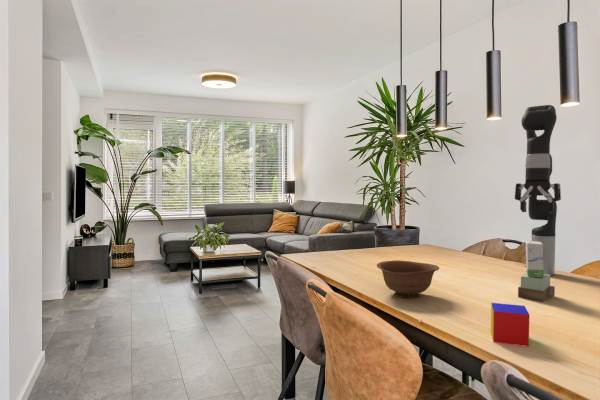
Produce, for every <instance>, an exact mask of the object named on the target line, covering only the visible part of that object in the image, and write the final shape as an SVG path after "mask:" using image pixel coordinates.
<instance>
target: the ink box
mask: <svg viewBox="0 0 600 400" xmlns="http://www.w3.org/2000/svg"><path fill="white" fill-rule="evenodd" d="M525 259H526V260H525V262H526V263H525V269H526V273H527V275H528V277H544V271H543V244H542V243H541V242H536V241H532V240H525Z"/></svg>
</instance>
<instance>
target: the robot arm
mask: <svg viewBox="0 0 600 400" xmlns="http://www.w3.org/2000/svg"><path fill="white" fill-rule="evenodd" d="M556 122H557V112H556V108H555V106H553V105H551V104H544V105H543V104H542V105H534V106H529V107H527V108H526V109H525V112H524V114H523V115H522V117H521V126H522V128H523V130H525V133H526V141H527V142H526V158H525V164H524V165H525V183H516V184H515V188H514V189H515V191H514V200H515V201H519V202H520V205H519V206H520V208H519V210H520V211H521V213H527V210H528V217H529V219H530V220H534V221H547V222H546V223H545V224H543V225H541V226H538V227H533V228H532V229H531V241H536V242H541V243H542V244H543V271H544V274H548V275H550V276H554V275H555V269H556V268H555V266H556V265H555V264H556V225H557V224H556V222H557V213H558V206H557V202H558V201H561V200H562V196H561V195H562V193H561V192H562V191H561V183H559V182H558V183H555V182H554V183H551V182H550V179H551V175H552V173H553V157H552V155H551V151H550V150H551V137H552V134H553V131H554V128H555V125H556ZM536 131H543V133H541V135H537V134H536ZM523 189H525V192H524V193H523V195H522V191H523ZM550 189H552V190H553V194H554V196H552V194H551V193H550V192H549V190H550ZM538 196H539V197H540V196H541V197H544V198H545V199H538ZM527 200H528V203H527ZM527 204H528V205H527ZM527 206H528V207H527ZM527 208H528V209H527Z"/></svg>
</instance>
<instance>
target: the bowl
mask: <svg viewBox="0 0 600 400" xmlns="http://www.w3.org/2000/svg"><path fill="white" fill-rule="evenodd" d="M376 267H377V268H378V269H380V270H381V272H382V277H383V282H384V283H385V285H386V287H387V288H388V289H389V290H391V291H393V292H394V296H395V297H398V298H401V299H417V298H419V297H420V296H421V295H420V294H421V293H424V292H425V291H427V290H428V289H429V288H430V285H431V284H432V281H433V276H434V274H435V272H436V271H438V270H439V269H440V267H439V266H438V265H437V264H433V263H426V262H425V263H424V262H417V261H412V260H411V261H410V260H397V259H396V260H385V261H380V262H377V263H376Z"/></svg>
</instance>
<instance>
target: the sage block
mask: <svg viewBox="0 0 600 400" xmlns="http://www.w3.org/2000/svg"><path fill="white" fill-rule="evenodd" d="M520 286H521V288H526V289H533V290H539V291H544V290H545V289H547V288H548V287H549V286H551V275H548V274H544V277H528V275H527V272H526V273H525V274H523V275H521V276H520Z"/></svg>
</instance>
